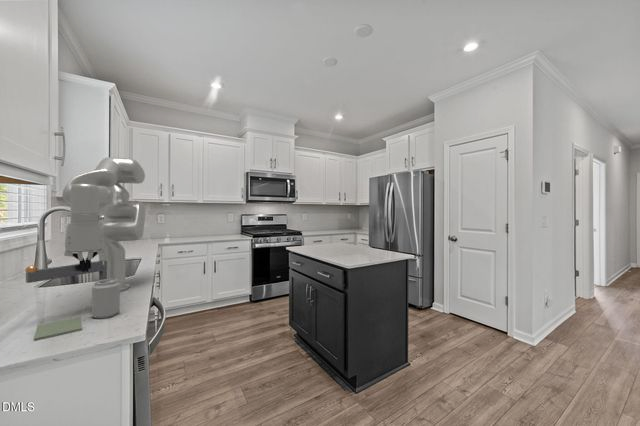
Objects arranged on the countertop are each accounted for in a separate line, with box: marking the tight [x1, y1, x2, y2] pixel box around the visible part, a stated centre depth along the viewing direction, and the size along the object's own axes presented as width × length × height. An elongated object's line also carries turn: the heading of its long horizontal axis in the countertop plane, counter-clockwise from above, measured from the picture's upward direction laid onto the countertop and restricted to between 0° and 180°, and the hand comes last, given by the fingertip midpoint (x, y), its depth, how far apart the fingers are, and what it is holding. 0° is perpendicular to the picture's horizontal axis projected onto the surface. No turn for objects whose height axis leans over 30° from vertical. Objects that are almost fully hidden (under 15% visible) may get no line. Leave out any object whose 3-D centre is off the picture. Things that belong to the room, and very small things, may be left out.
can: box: [91, 279, 121, 319], centre depth 93 cm, size 8×8×12 cm
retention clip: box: [25, 260, 107, 284], centre depth 93 cm, size 22×3×17 cm, turn 151°
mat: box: [33, 316, 83, 341], centre depth 82 cm, size 12×10×1 cm
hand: (85, 271), depth 94 cm, fingers closed
